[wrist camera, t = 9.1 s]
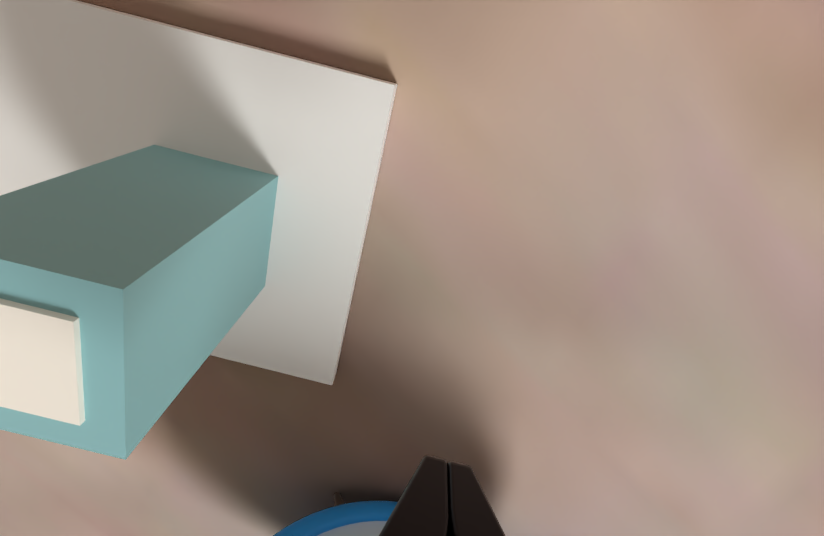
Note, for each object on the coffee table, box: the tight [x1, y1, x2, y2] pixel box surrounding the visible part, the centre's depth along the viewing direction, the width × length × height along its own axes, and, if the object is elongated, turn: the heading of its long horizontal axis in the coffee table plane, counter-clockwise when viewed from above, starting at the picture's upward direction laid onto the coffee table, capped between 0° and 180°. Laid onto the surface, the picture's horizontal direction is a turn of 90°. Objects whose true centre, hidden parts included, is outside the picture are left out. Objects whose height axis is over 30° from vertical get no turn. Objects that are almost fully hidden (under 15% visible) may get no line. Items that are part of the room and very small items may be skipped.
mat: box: [0, 0, 397, 385], centre depth 17 cm, size 16×11×1 cm
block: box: [0, 145, 278, 460], centre depth 13 cm, size 4×4×8 cm
